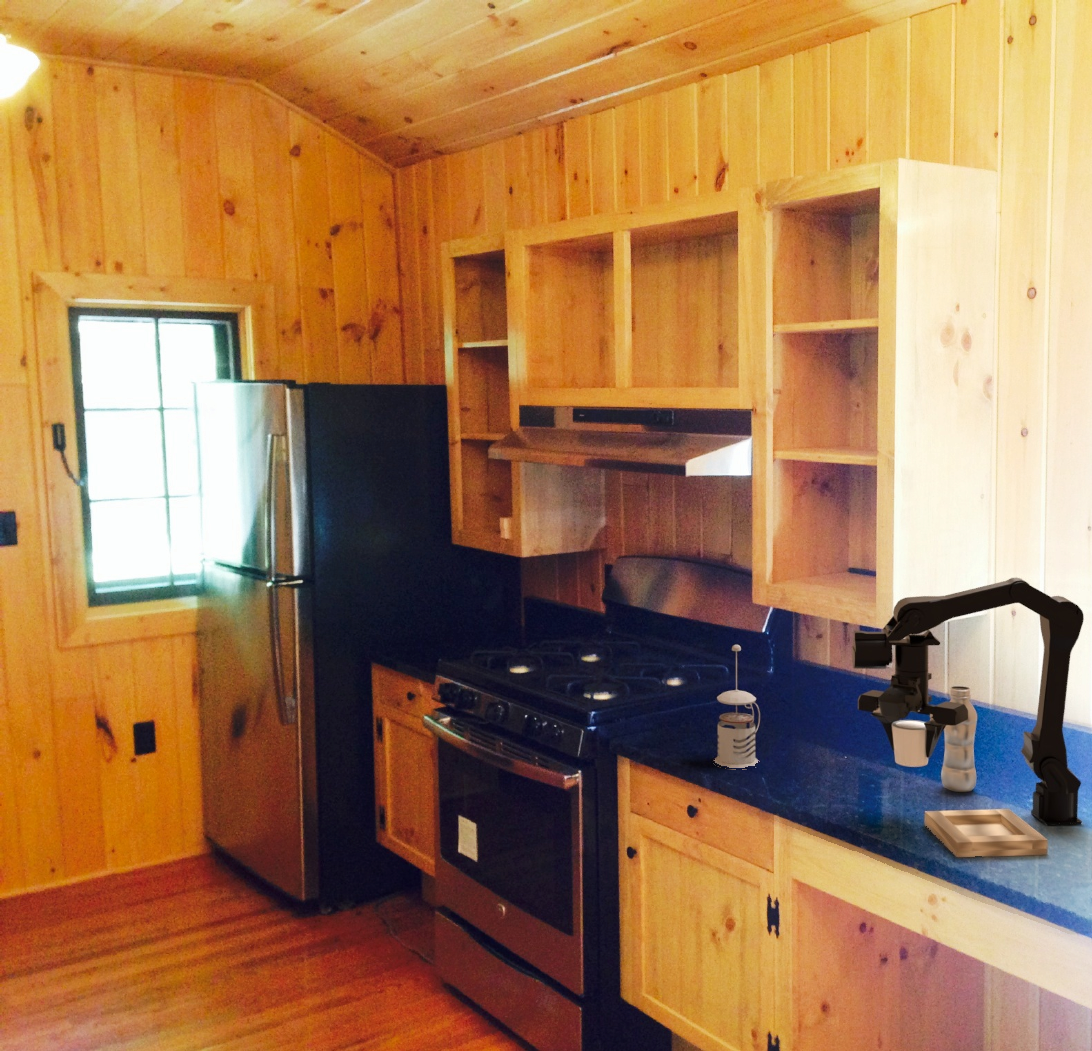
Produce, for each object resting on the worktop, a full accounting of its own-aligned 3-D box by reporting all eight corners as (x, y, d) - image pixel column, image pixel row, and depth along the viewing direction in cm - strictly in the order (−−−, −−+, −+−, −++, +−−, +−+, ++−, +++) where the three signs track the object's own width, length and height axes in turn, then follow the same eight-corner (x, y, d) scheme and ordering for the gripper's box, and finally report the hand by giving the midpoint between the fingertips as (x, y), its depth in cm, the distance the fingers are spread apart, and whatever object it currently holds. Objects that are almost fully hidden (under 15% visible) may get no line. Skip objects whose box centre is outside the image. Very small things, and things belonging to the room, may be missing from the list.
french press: (703, 762, 246) (702, 644, 244) (738, 751, 254) (738, 637, 252) (740, 772, 239) (739, 651, 237) (775, 760, 247) (775, 643, 244)
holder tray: (1008, 822, 208) (1008, 808, 208) (1047, 854, 193) (1047, 839, 193) (924, 824, 208) (924, 811, 207) (956, 857, 193) (957, 842, 192)
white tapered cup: (901, 754, 217) (901, 717, 217) (937, 760, 213) (937, 722, 212) (885, 763, 212) (885, 725, 211) (922, 770, 208) (922, 731, 207)
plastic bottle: (940, 794, 224) (941, 691, 222) (941, 783, 230) (942, 682, 228) (976, 797, 222) (978, 693, 220) (976, 786, 228) (978, 685, 226)
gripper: (841, 670, 211) (842, 754, 213) (941, 684, 199) (940, 774, 200) (872, 659, 219) (872, 741, 221) (969, 672, 207) (969, 759, 208)
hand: (911, 753), depth 212 cm, fingers closed on white tapered cup, 6 cm apart
